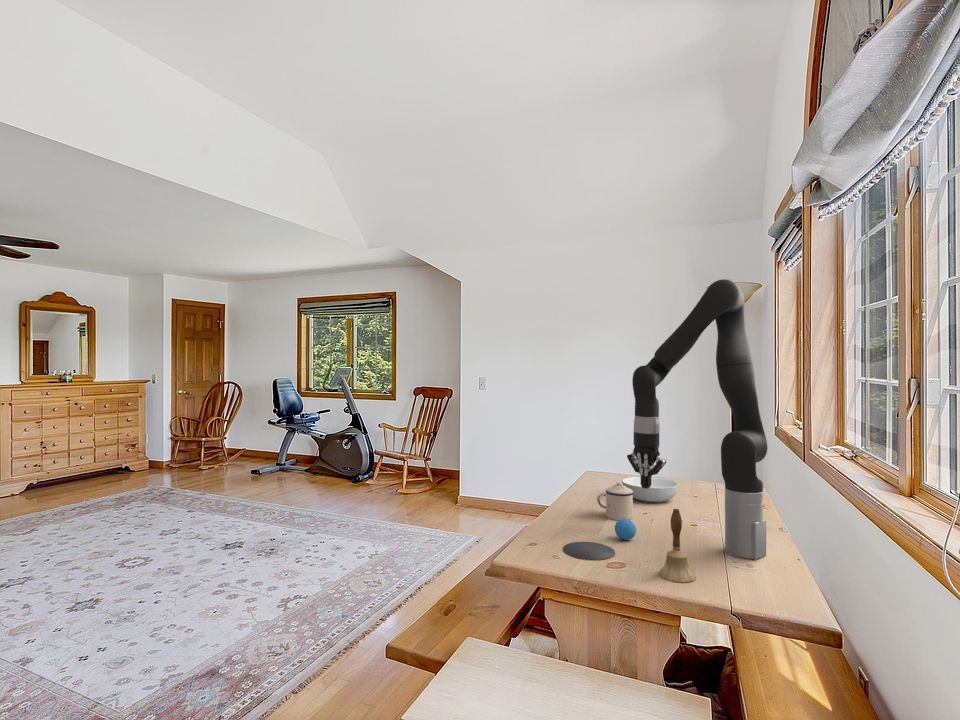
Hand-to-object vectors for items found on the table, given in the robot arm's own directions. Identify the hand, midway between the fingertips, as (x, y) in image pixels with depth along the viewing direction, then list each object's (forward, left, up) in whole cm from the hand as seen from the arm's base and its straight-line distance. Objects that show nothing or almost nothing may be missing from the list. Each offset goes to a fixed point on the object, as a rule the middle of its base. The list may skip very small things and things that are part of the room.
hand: (645, 487), depth 157 cm
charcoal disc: (0, +26, -14) cm, 29 cm away
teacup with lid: (+17, -7, -14) cm, 23 cm away
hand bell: (-24, +22, -14) cm, 36 cm away
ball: (0, +10, -11) cm, 15 cm away
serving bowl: (+24, -37, -14) cm, 46 cm away
